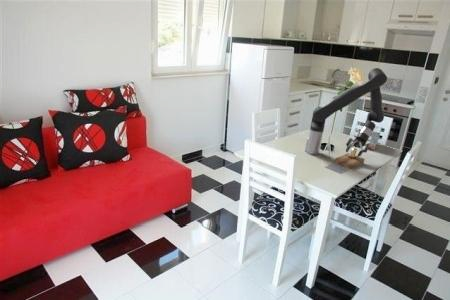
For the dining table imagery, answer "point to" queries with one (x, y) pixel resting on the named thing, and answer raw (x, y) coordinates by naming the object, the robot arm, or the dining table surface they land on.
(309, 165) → the dining table surface
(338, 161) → the brown flat lump
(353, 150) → the brass pin
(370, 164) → the dining table surface
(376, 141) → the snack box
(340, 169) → the rubber mat
